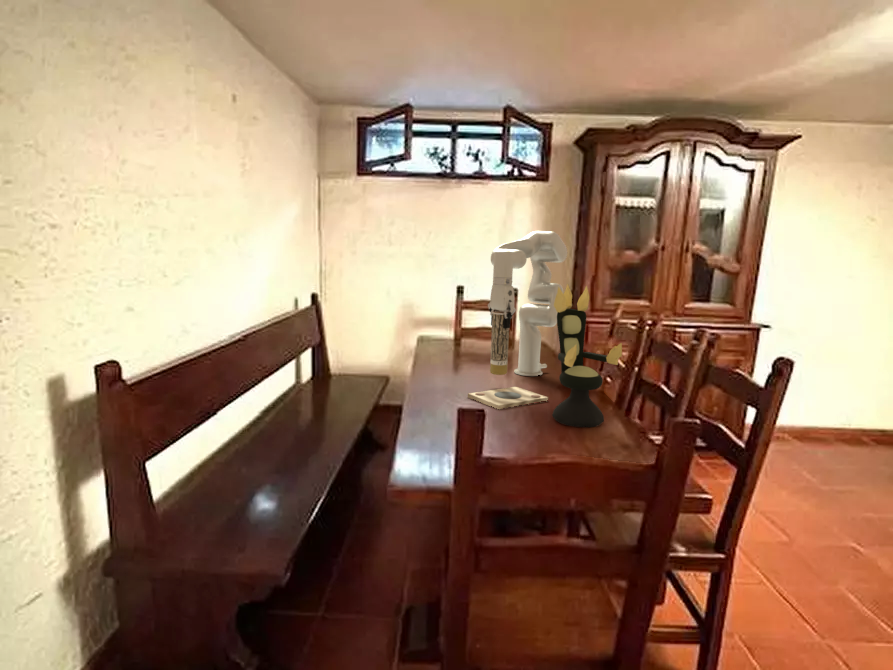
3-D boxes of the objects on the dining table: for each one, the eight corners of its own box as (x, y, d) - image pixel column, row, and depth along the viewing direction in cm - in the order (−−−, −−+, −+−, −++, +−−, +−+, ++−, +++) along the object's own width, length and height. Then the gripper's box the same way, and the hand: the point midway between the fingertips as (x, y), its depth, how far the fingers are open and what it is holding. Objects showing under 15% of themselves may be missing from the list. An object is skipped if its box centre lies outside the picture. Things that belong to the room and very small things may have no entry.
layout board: (515, 390, 235) (516, 386, 234) (547, 401, 220) (548, 396, 220) (467, 397, 221) (467, 393, 221) (498, 409, 206) (498, 404, 206)
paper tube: (486, 373, 238) (489, 311, 233) (497, 370, 242) (499, 310, 238) (499, 376, 233) (502, 313, 229) (510, 373, 238) (513, 312, 234)
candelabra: (568, 432, 184) (579, 288, 177) (531, 412, 204) (539, 282, 197) (617, 426, 192) (629, 288, 185) (576, 408, 212) (585, 283, 205)
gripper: (524, 283, 226) (522, 329, 230) (495, 279, 240) (493, 323, 244) (509, 284, 222) (507, 330, 225) (481, 280, 236) (479, 324, 239)
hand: (500, 326), depth 234 cm, fingers closed on paper tube, 6 cm apart
